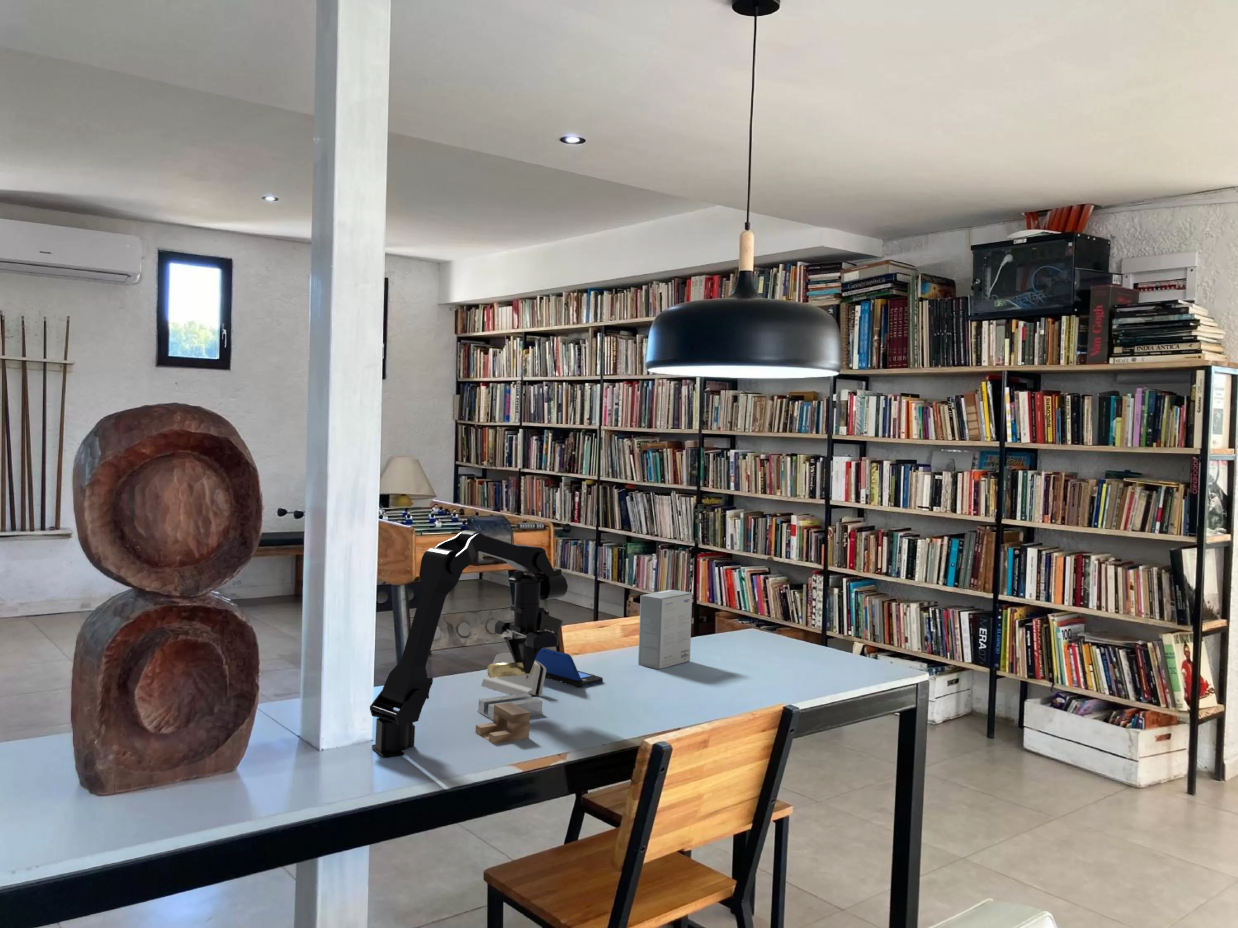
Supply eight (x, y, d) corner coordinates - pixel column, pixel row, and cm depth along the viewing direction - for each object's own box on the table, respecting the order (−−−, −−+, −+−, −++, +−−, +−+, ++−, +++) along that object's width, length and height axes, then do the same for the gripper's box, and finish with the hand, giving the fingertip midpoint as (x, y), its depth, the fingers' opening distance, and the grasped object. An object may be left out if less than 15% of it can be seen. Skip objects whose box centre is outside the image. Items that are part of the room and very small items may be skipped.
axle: (493, 679, 200) (494, 665, 200) (486, 676, 202) (487, 662, 202) (533, 675, 206) (534, 662, 206) (526, 673, 208) (527, 660, 208)
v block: (494, 724, 198) (495, 707, 198) (477, 714, 204) (478, 698, 204) (542, 717, 205) (543, 701, 205) (524, 708, 211) (525, 692, 211)
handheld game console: (605, 683, 238) (606, 647, 238) (568, 692, 228) (570, 654, 228) (562, 671, 248) (564, 637, 248) (525, 679, 238) (527, 643, 238)
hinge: (480, 685, 229) (492, 645, 231) (493, 688, 232) (505, 649, 235) (527, 699, 218) (539, 658, 221) (540, 703, 222) (552, 662, 224)
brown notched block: (493, 747, 183) (495, 717, 183) (475, 735, 190) (476, 706, 189) (528, 741, 188) (530, 712, 188) (509, 730, 194) (511, 702, 194)
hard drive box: (669, 656, 271) (672, 589, 271) (690, 661, 266) (694, 592, 266) (636, 664, 259) (640, 593, 259) (658, 669, 254) (662, 597, 254)
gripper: (580, 606, 203) (576, 677, 203) (537, 593, 218) (534, 659, 218) (536, 609, 196) (532, 682, 197) (495, 595, 211) (491, 663, 212)
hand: (523, 671), depth 206 cm, fingers closed on axle, 3 cm apart
